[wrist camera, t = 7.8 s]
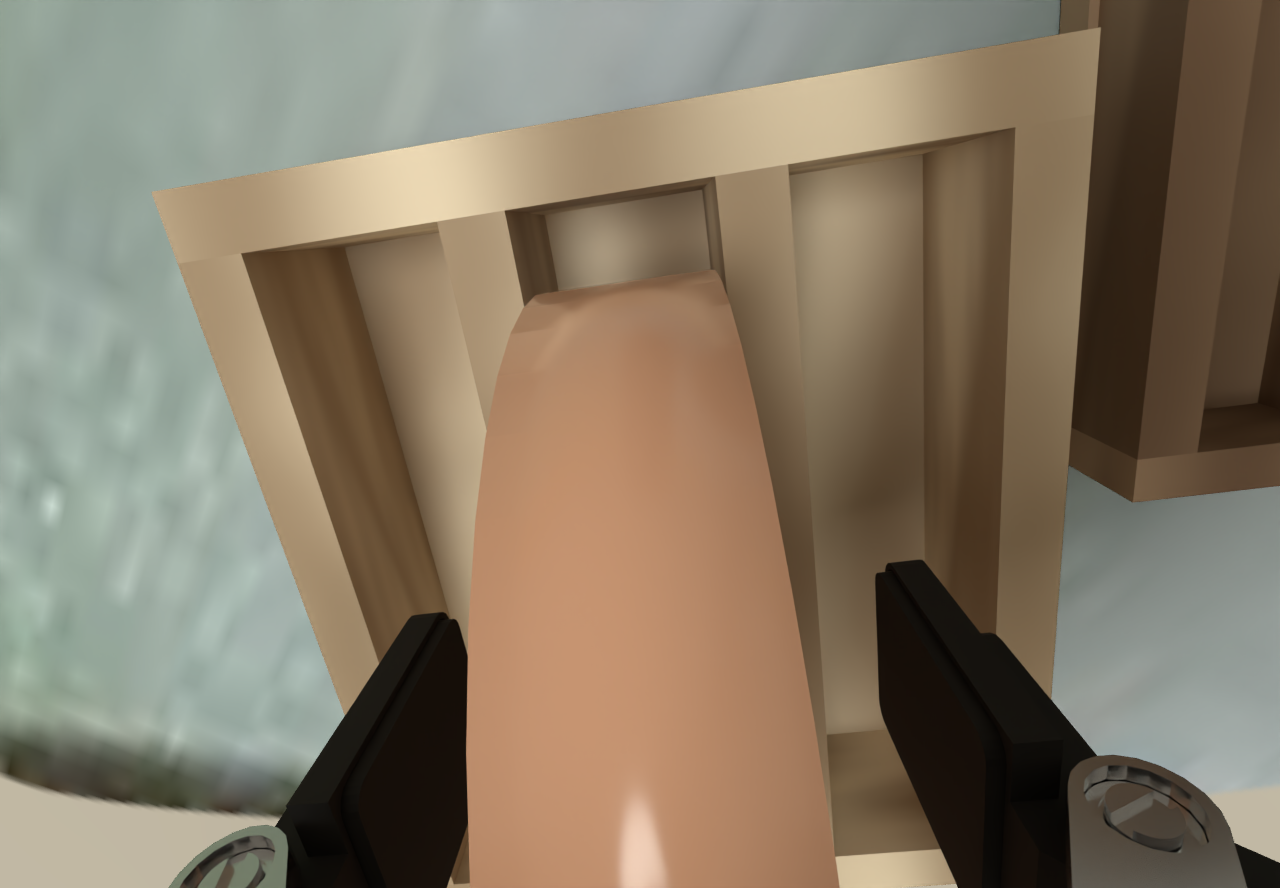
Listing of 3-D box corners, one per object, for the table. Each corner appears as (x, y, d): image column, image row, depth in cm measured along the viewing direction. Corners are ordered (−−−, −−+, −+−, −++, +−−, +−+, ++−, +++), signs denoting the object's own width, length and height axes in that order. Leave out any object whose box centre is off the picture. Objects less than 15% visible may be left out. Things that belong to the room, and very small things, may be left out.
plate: (692, 246, 14) (870, 428, 2) (741, 700, 19) (892, 1623, 6) (589, 261, 14) (193, 510, 2) (661, 707, 19) (659, 1618, 7)
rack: (965, 92, 14) (1114, 24, 10) (955, 723, 20) (1046, 877, 15) (299, 204, 16) (141, 194, 11) (469, 766, 21) (413, 920, 17)
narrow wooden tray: (1426, -415, 11) (1726, -668, 8) (1274, 422, 16) (1423, 469, 13) (1079, -339, 12) (1234, -549, 9) (1035, 451, 17) (1123, 503, 14)
